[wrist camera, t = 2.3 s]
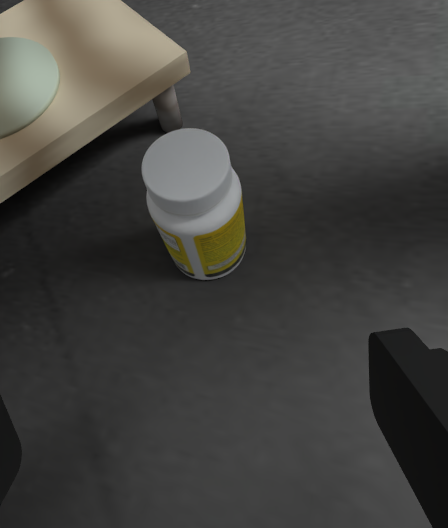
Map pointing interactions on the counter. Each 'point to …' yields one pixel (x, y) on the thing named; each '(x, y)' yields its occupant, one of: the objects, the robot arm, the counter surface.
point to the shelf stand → (77, 80)
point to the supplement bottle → (196, 202)
